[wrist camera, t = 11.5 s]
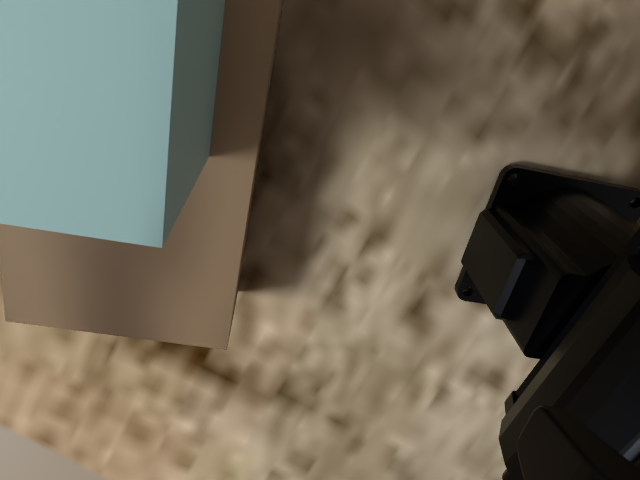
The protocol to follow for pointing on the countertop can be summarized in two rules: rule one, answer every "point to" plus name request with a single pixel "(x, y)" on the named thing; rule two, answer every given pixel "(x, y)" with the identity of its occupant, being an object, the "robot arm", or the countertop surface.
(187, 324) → the walnut plinth
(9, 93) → the block
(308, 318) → the countertop surface
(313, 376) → the countertop surface
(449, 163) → the countertop surface
